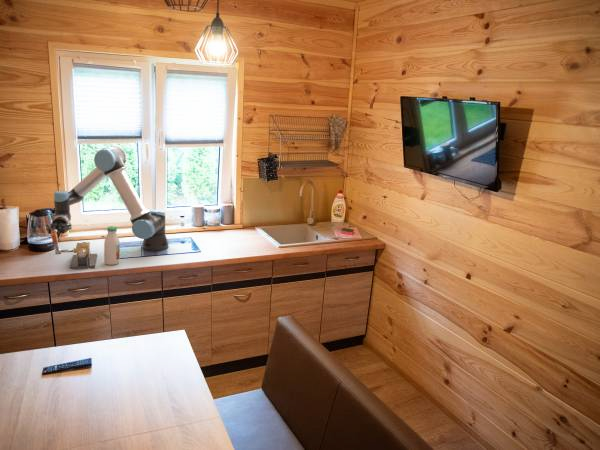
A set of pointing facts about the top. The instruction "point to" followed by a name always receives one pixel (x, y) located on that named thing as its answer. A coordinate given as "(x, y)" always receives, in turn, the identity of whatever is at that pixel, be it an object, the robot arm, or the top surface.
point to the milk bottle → (111, 247)
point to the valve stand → (83, 257)
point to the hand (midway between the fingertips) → (54, 235)
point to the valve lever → (55, 241)
